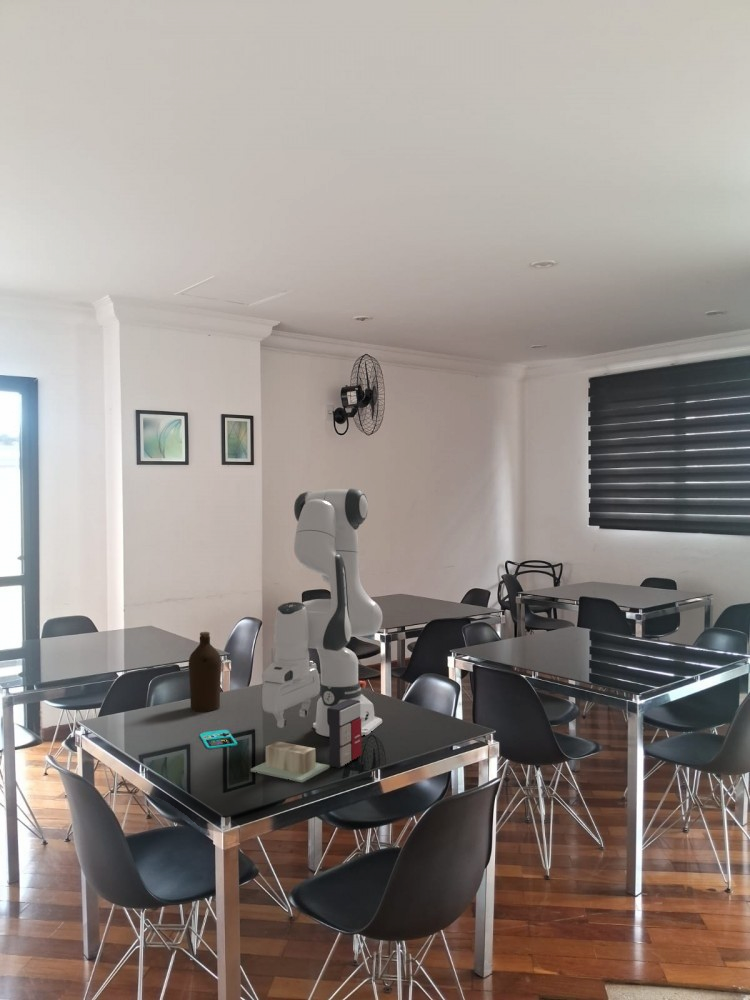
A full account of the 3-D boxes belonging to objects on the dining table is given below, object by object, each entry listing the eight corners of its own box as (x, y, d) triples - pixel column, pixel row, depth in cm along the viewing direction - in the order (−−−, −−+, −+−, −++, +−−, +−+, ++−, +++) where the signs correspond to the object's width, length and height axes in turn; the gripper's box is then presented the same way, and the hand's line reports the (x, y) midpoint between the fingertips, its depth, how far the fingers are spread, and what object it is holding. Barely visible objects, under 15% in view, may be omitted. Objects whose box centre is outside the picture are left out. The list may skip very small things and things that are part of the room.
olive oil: (227, 708, 258) (227, 632, 258) (199, 714, 251) (198, 636, 251) (211, 702, 266) (210, 628, 266) (182, 708, 258) (182, 632, 258)
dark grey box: (341, 769, 198) (341, 710, 198) (327, 766, 201) (326, 708, 201) (363, 756, 208) (362, 700, 208) (349, 754, 210) (348, 698, 210)
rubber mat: (279, 757, 208) (279, 755, 208) (329, 767, 200) (329, 765, 200) (250, 771, 197) (250, 768, 197) (302, 782, 189) (302, 780, 189)
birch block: (277, 741, 204) (315, 748, 198) (277, 760, 204) (315, 768, 198) (265, 746, 199) (303, 754, 193) (265, 766, 199) (304, 774, 193)
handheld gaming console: (227, 728, 232) (237, 743, 218) (227, 731, 232) (238, 746, 218) (198, 732, 229) (207, 747, 215) (198, 735, 229) (207, 750, 215)
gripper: (305, 657, 209) (306, 708, 209) (257, 675, 191) (258, 731, 192) (325, 660, 206) (326, 712, 206) (277, 678, 188) (278, 735, 189)
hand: (293, 721), depth 199 cm, fingers open, 8 cm apart
